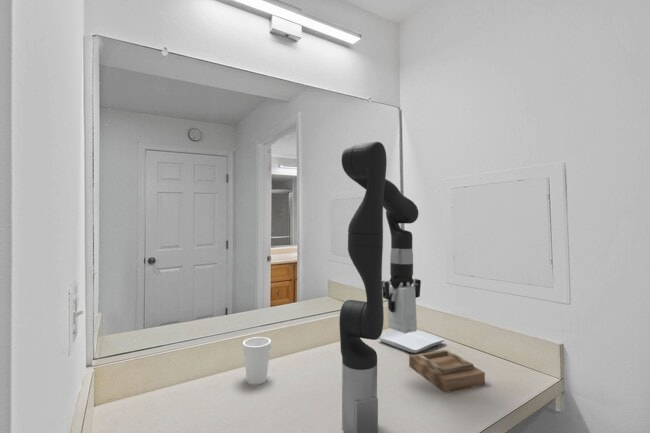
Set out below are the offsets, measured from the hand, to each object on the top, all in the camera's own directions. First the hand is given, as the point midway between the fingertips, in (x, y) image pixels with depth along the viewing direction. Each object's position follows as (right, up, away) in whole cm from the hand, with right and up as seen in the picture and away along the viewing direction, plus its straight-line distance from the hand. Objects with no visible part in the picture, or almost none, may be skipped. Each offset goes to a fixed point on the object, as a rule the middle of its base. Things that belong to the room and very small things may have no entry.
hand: (401, 310), depth 114 cm
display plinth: (+16, -24, +5) cm, 29 cm away
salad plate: (+12, -25, +34) cm, 43 cm away
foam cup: (-49, -24, +1) cm, 55 cm away
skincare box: (0, -7, 0) cm, 7 cm away
